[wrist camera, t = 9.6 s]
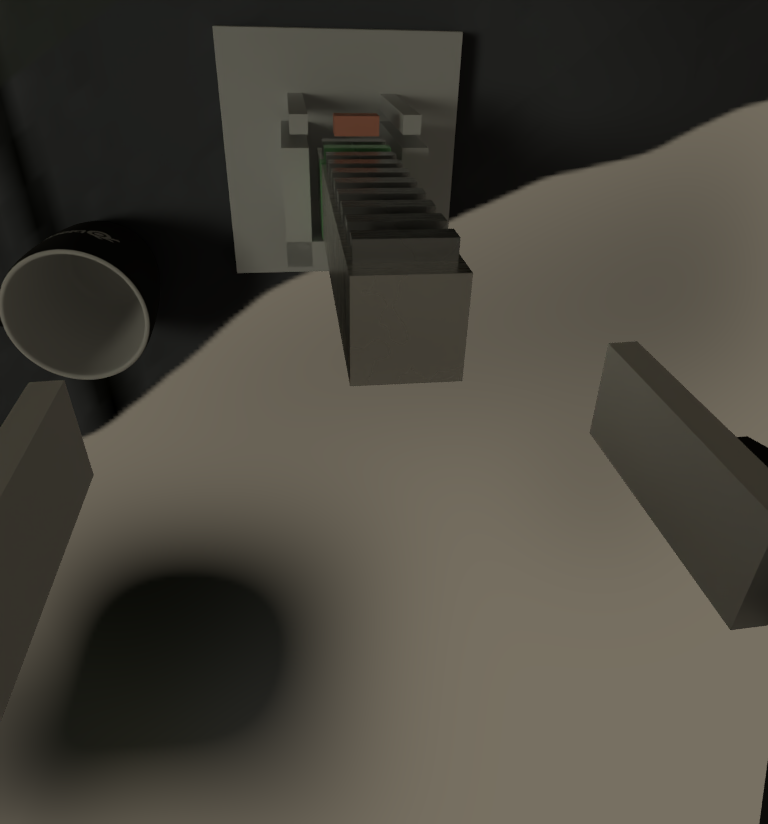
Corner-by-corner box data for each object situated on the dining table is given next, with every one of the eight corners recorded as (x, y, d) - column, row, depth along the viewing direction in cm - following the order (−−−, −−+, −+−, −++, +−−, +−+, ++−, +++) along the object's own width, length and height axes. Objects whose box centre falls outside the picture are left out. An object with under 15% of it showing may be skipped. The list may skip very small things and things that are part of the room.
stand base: (215, 25, 42) (193, 32, 31) (455, 31, 44) (511, 39, 33) (238, 264, 50) (227, 332, 40) (439, 259, 52) (479, 324, 42)
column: (315, 133, 38) (347, 251, 20) (384, 133, 39) (476, 248, 21) (318, 215, 41) (348, 387, 23) (382, 214, 42) (463, 382, 23)
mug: (153, 196, 47) (125, 239, 39) (185, 310, 52) (167, 370, 43) (-16, 218, 46) (-83, 266, 38) (33, 331, 51) (-17, 397, 43)
